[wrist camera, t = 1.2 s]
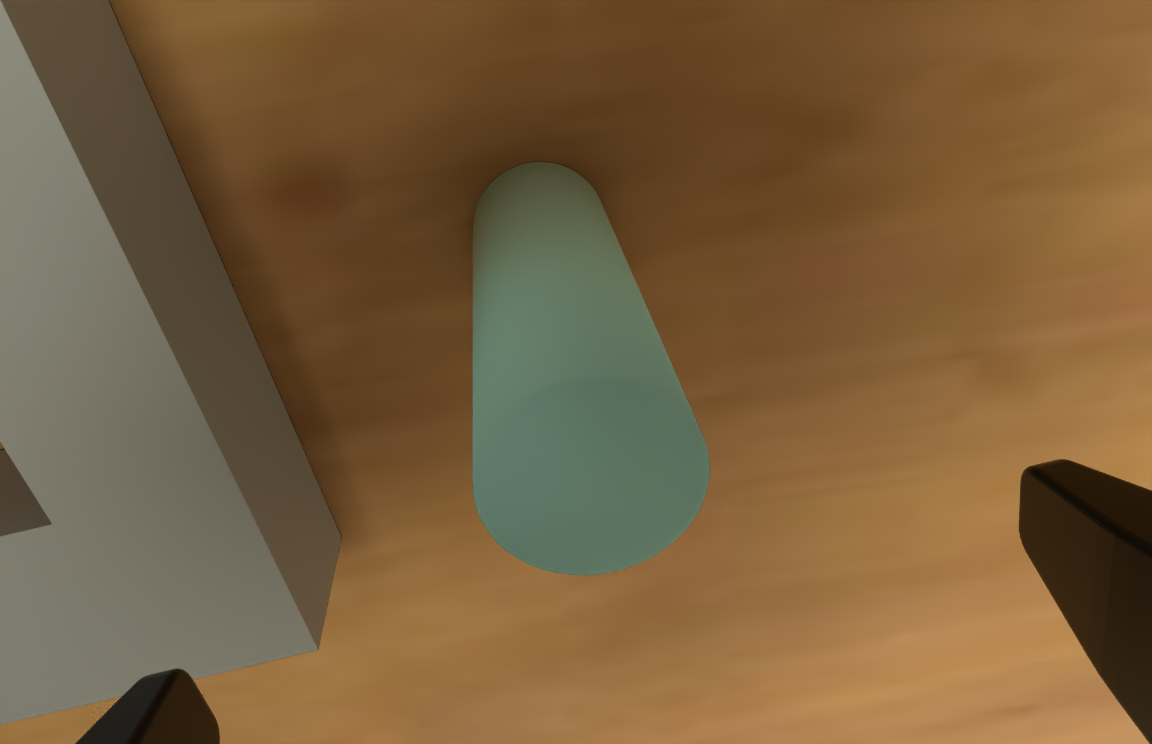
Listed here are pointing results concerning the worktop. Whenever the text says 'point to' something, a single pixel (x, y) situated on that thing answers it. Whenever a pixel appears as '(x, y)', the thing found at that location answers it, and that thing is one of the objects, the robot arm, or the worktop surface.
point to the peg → (572, 386)
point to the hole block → (130, 399)
